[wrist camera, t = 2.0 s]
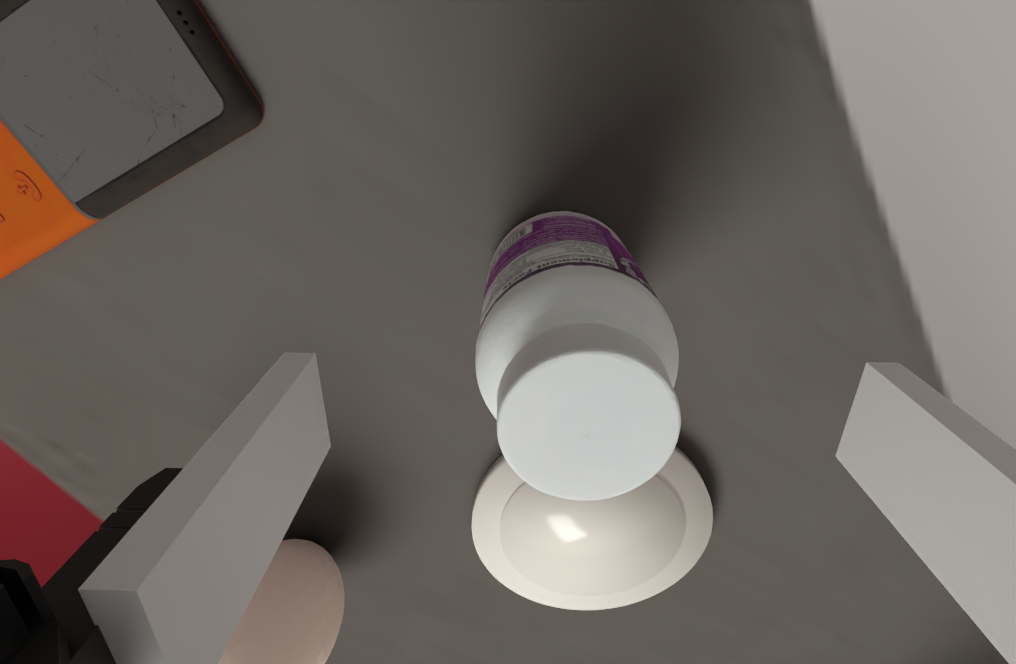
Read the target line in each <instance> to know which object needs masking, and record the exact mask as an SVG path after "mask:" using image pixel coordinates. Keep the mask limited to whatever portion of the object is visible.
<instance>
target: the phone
mask: <svg viewBox="0 0 1016 664" xmlns="http://www.w3.org/2000/svg"><path fill="white" fill-rule="evenodd" d="M263 114H264V112H263V107H262V104H261V102H260V100H259V99H258V97H257V96H256V94H255V92H254V91H253V89H252V88H251V86H250V85H249V83H248V82H247V80H246V78H245V77H244V75H243V74H242V72H241V71H240V69H239V68H238V66H237V64H236V63H235V61H234V60H233V58H232V57H231V55H230V53H229V52H228V50H227V49H226V47H225V46H224V44H223V43H222V41H221V39H220V38H219V36H218V35H217V33H216V32H215V30H214V29H213V27H212V25H211V24H210V22H209V21H208V19H207V18H206V16H205V15H204V13H203V11H202V10H201V8H200V7H199V5H198V4H197V2H196V0H0V279H2V278H3V277H5V276H7V275H8V274H10V273H12V272H13V271H15V270H17V269H19V268H20V267H22V266H24V265H25V264H27V263H29V262H30V261H32V260H34V259H35V258H37V257H39V256H40V255H42V254H44V253H45V252H47V251H49V250H51V249H52V248H54V247H56V246H57V245H59V244H61V243H62V242H64V241H66V240H67V239H69V238H71V237H72V236H74V235H76V234H78V233H79V232H81V231H83V230H84V229H86V228H88V227H89V226H91V225H93V224H94V223H96V222H98V221H99V220H101V219H103V218H104V217H106V216H108V215H110V214H111V213H113V212H115V211H116V210H118V209H120V208H121V207H123V206H125V205H126V204H128V203H130V202H131V201H133V200H135V199H137V198H138V197H140V196H142V195H143V194H145V193H147V192H148V191H150V190H152V189H153V188H155V187H157V186H158V185H160V184H162V183H163V182H165V181H167V180H169V179H170V178H172V177H174V176H175V175H177V174H179V173H180V172H182V171H184V170H185V169H187V168H189V167H190V166H192V165H194V164H196V163H197V162H199V161H201V160H202V159H204V158H206V157H207V156H209V155H211V154H212V153H214V152H216V151H217V150H219V149H221V148H222V147H224V146H226V145H228V144H229V143H231V142H233V141H234V140H236V139H238V138H239V137H241V136H243V135H244V134H246V133H248V132H249V131H251V130H253V129H254V128H256V127H257V126H259V125H260V123H261V122H262V120H263Z"/></svg>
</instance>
